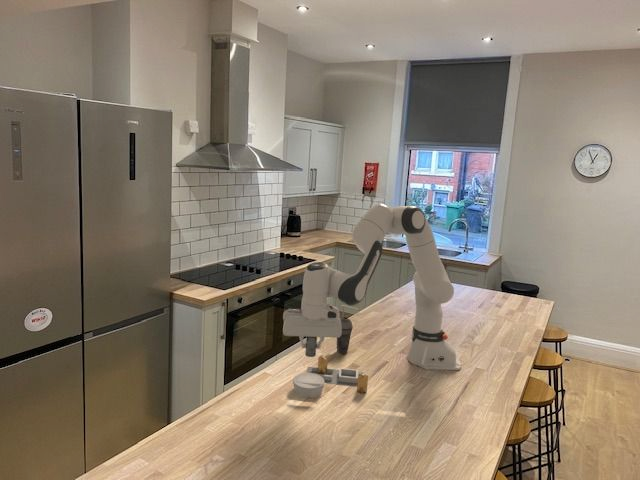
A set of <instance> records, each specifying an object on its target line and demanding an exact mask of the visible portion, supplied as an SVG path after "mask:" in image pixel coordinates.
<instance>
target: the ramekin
mask: <svg viewBox="0 0 640 480" xmlns="http://www.w3.org/2000/svg"><path fill="white" fill-rule="evenodd" d="M292 383H293V391H294V394H296V395H298V396H299V397H303V398H317V397H319V396H321V394H322V393H323V389H324V386H325V383H324V379H323V378H322V377H321V376H319V375H317V374H314V373H306V372H301V373H299V374H296V375H295V376H294V377H293V379H292Z"/></svg>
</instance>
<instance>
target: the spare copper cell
mask: <svg viewBox="0 0 640 480" xmlns="http://www.w3.org/2000/svg"><path fill="white" fill-rule="evenodd" d="M317 361H318V362H317V367H318V371H317V374H322V375H327V368H328V363H329V357H327V356H325V355H319V356H318V359H317Z"/></svg>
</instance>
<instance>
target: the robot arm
mask: <svg viewBox="0 0 640 480" xmlns="http://www.w3.org/2000/svg"><path fill="white" fill-rule="evenodd" d="M433 233H434V232H433V230H432V227H431V225H430V223H429V220H428V219H427V218H426V215H425V213H424V211H423V210H422V209H421V208H420V207H419V206H414V205H409V206H407V205H398V206H397V205H396V206H394V207H389V206H387V205H386V204H383V203H377V204H374V205H373V206H371V207H370V208H369V209H368V210H367V211H366V212H365V213H364V214H363V216H362V217H361V218H360V219H359V221H358V222H357V223H356V225H355V227H353V230H352V233H351V234H352V235H351V237H352V241H353V243H354V245H355V246H356V247H357V249H358V250H359V251H360V252H362V253H363V258H362V259H361V262H360V264H359V266H358V268H357V270H356V272H354V273H352V274H350V273H347V272H346V273H345V272H342V271H341V270H338V269H335V268H331V267H330V266H329V265H328V264H327V263H326V262H321V261H317V262H316V261H315V262H311V263H309V264H307V265H306V268H305V270H304V274H303V278H302V279H303V281H302V293H303V294H302V298H301V306H300V308H295V309H294V308H288V309H286V310H285V311H283V314H282V320H283V321H284V322H283V328H282V333H283V335H284V336H286V337H299V341H300V343H301V349H306V341H304V337H305V338H307V337H317V338H319V341H317V343H316V350H317V349H321V345H322V344H323V342H324V341H325V338H336V339H337V338H339V337H340V336H341V334H342V326H341V321H340V318H341V317H340V316H341V315H340V310H339V308H338V306H335V305H333V304H332V305H331V304H329V303H328V298H332V299H335V300H336V301H340V302H341V303H343V304H346V305H347V306H350V307H351V306H356V305H357V304H359V303H361V302H362V301H363V300H364V298H365V296H366V294H367V289H368V286H369V283H370V281H371V279H372V277H373V275H374V273H375V270H376V268H377V266H378V264H379V263H380V259H381V258H382V254H383V248H384V247H383V245H382V243H383V242H382V241H383V240H384V238H385V236H386V235H394V236H400V235H404V236H405V241H406V243H407V248H408V252H409V255H410V259H411V262H412V265H413V266H414V268H415V272H414V274H413V278H412V282H413V284H414V285H413V286H414V294H415V295H414V297H415V298H414V299H415V316H414V324H413V327H412V330H411V331H412V332H411V343H410V347H409V350H408V353H407V355H406V360H408V362H409V363H410V364H411V363H412V364H413V365H416V366H419V367H420V368H422V369H423V370H426V371H430V370H432V371H433V370H435V371H459V370H460V369H461V368H462V362H461V361H460V359H459V358H458V357H457V353H456V350H455V348H454V346H452V344H451V343H449V342H448V338H449V336H448V334H447V333H446V331H444V330H443V329H442V323H443V312H444V311H443V308H442V305H443V304H446V303H448V302H450V301H451V300H452V298H453V297H454V294H455V288H454V286H453V284H452V282H451V281H450V279H449V278H450V277H449V276H448V273H447V271H446V269H445V266H444V264H443V262H442V259H441V257H440V253H439V251H438V247H437V243H436V239H435V236H434V234H433Z"/></svg>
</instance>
